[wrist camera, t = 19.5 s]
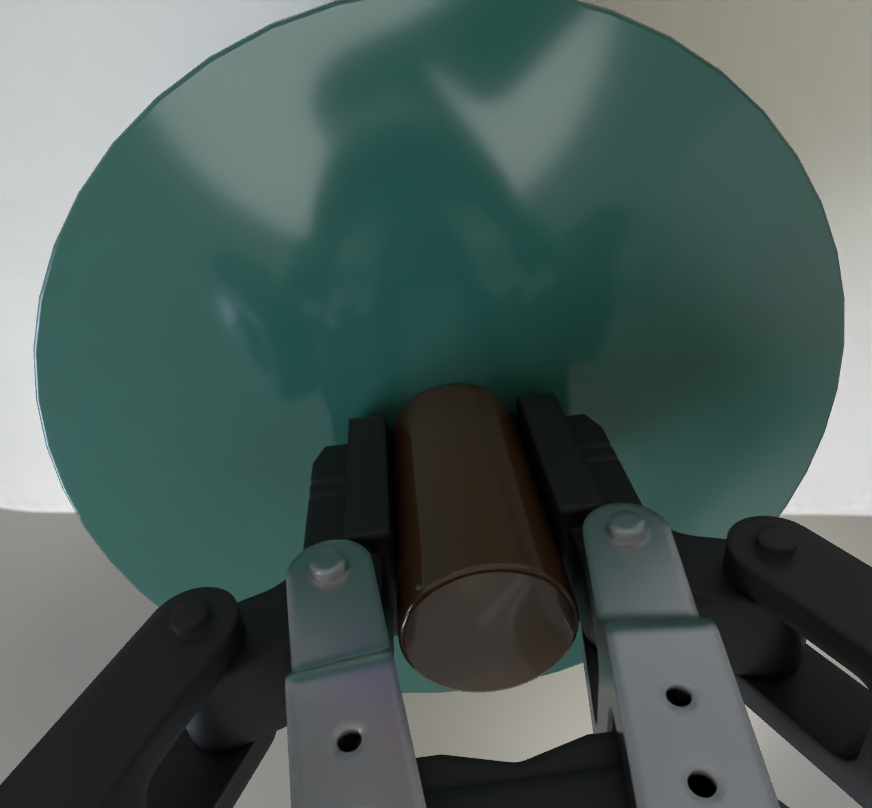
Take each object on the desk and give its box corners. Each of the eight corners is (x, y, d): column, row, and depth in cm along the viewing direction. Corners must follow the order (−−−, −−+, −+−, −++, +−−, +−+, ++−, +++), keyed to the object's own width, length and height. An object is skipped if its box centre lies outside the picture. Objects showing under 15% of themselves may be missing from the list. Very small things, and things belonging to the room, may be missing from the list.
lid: (893, -71, 11) (1346, -112, 6) (758, 614, 20) (902, 851, 14) (-99, 43, 11) (-521, 106, 6) (185, 691, 19) (116, 960, 14)
